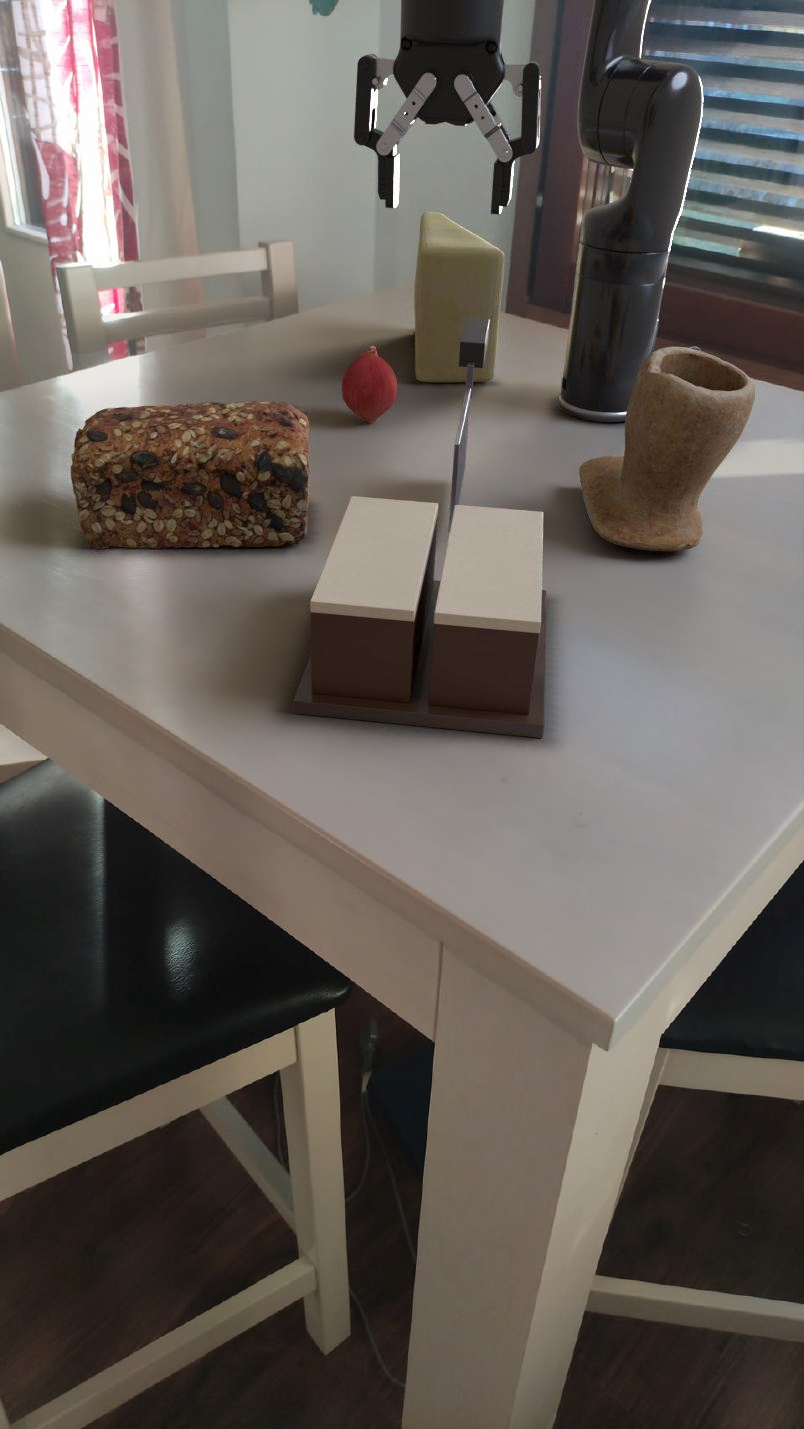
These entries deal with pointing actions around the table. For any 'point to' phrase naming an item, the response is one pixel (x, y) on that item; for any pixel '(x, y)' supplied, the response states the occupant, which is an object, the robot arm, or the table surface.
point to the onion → (369, 386)
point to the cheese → (453, 298)
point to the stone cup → (667, 450)
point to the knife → (467, 396)
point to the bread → (193, 475)
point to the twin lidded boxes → (430, 620)
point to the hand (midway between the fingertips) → (443, 209)
